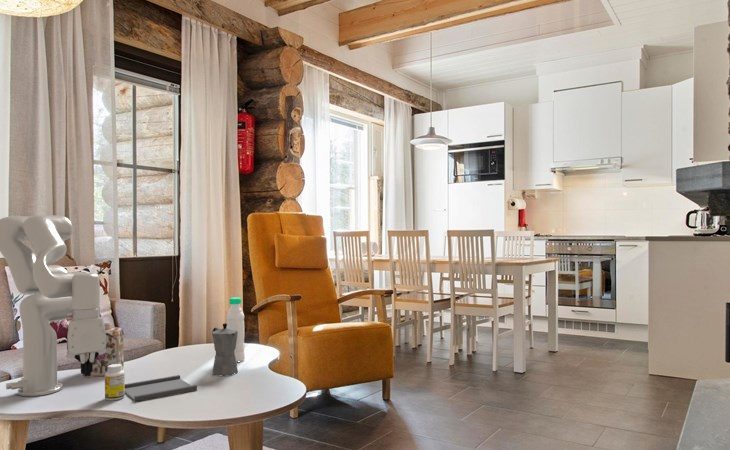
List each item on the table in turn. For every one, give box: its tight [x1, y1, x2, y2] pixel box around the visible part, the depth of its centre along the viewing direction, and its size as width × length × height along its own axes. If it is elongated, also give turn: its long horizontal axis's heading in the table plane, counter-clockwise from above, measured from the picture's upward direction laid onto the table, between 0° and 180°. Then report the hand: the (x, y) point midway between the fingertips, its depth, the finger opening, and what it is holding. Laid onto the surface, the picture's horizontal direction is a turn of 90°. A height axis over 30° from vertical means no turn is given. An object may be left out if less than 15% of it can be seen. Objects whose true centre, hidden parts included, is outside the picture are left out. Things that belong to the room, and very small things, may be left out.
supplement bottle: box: [104, 364, 126, 401], centre depth 169 cm, size 6×6×10 cm
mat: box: [125, 374, 198, 403], centre depth 178 cm, size 19×17×2 cm
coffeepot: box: [211, 322, 239, 376], centre depth 200 cm, size 15×9×18 cm, turn 44°
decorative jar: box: [84, 322, 125, 378], centre depth 201 cm, size 12×12×18 cm
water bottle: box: [225, 297, 246, 363], centre depth 217 cm, size 7×7×25 cm
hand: (86, 375), depth 164 cm, fingers closed
